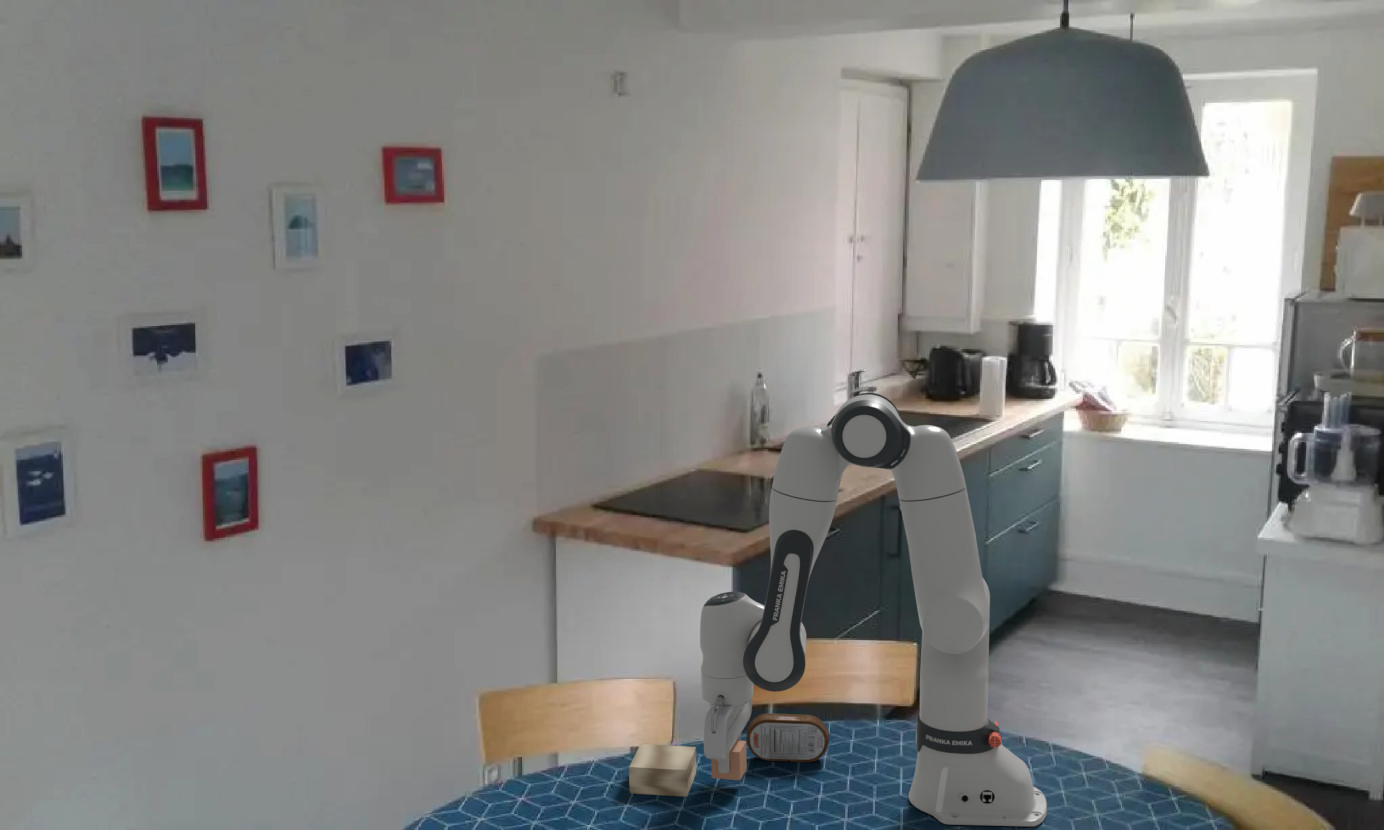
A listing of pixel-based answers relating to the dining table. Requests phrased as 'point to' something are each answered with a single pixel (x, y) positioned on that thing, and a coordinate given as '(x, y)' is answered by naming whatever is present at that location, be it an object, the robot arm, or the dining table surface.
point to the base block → (662, 770)
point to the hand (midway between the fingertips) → (729, 764)
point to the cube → (733, 763)
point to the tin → (787, 737)
